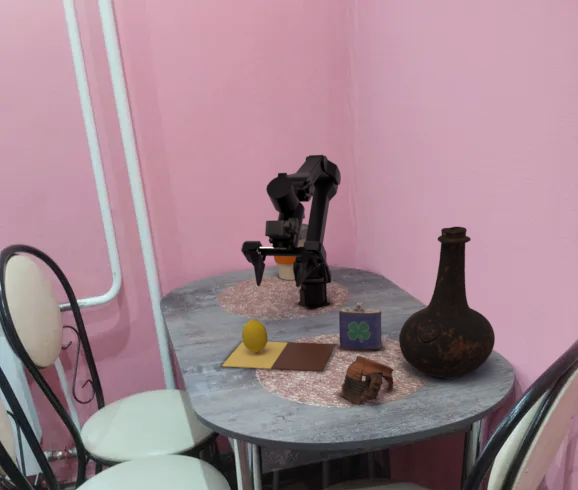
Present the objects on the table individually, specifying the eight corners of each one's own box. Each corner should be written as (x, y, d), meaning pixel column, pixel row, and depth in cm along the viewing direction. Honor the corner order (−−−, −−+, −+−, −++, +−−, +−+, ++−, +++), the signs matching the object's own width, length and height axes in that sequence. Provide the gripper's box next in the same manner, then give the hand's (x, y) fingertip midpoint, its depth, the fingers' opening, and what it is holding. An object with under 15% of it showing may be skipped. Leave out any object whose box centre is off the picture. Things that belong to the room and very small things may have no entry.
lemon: (270, 356, 132) (266, 322, 129) (244, 359, 132) (241, 325, 128) (267, 347, 137) (264, 313, 134) (243, 349, 137) (239, 316, 133)
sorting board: (242, 342, 142) (242, 340, 142) (335, 345, 136) (335, 344, 136) (222, 366, 130) (221, 365, 130) (322, 371, 124) (322, 370, 124)
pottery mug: (331, 391, 117) (346, 350, 116) (374, 405, 119) (389, 366, 118) (349, 403, 105) (365, 358, 104) (397, 419, 108) (413, 375, 107)
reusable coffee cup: (320, 272, 191) (318, 224, 185) (300, 283, 182) (296, 233, 175) (287, 268, 198) (283, 222, 191) (265, 279, 188) (261, 230, 182)
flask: (382, 347, 133) (381, 300, 129) (380, 352, 131) (380, 305, 126) (341, 345, 136) (339, 299, 131) (338, 350, 133) (336, 304, 129)
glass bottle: (382, 374, 121) (381, 233, 109) (429, 345, 133) (433, 215, 120) (463, 397, 110) (473, 243, 98) (507, 363, 121) (521, 222, 109)
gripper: (239, 204, 134) (225, 267, 130) (320, 203, 128) (309, 268, 124) (255, 232, 144) (243, 291, 140) (331, 232, 138) (321, 293, 134)
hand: (277, 285), depth 134 cm, fingers open, 9 cm apart
